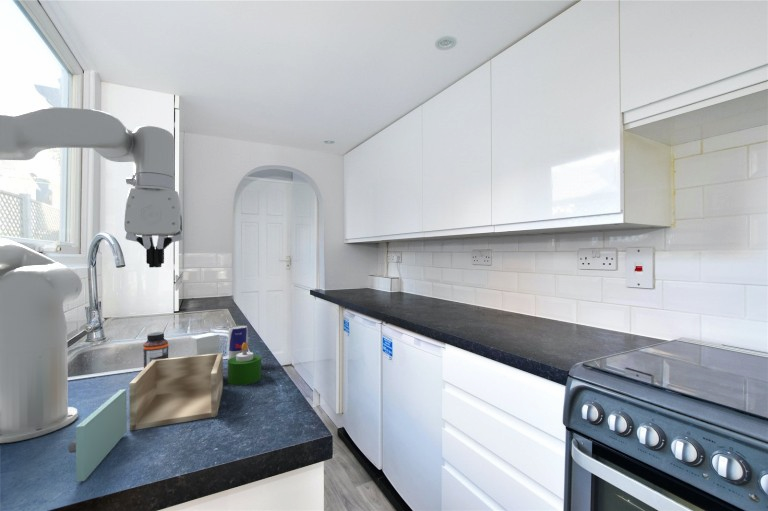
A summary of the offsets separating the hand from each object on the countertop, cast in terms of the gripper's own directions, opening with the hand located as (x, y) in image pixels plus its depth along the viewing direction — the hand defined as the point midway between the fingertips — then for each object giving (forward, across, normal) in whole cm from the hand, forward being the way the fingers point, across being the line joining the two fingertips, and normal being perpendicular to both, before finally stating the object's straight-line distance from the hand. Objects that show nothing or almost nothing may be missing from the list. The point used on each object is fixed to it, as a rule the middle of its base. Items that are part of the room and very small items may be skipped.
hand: (155, 267), depth 75 cm
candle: (+31, +18, +11) cm, 38 cm away
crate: (+31, +6, -2) cm, 32 cm away
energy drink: (+31, +16, +23) cm, 42 cm away
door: (+31, -3, -19) cm, 36 cm away
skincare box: (+31, +8, +15) cm, 35 cm away
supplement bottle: (+31, -6, +26) cm, 41 cm away
